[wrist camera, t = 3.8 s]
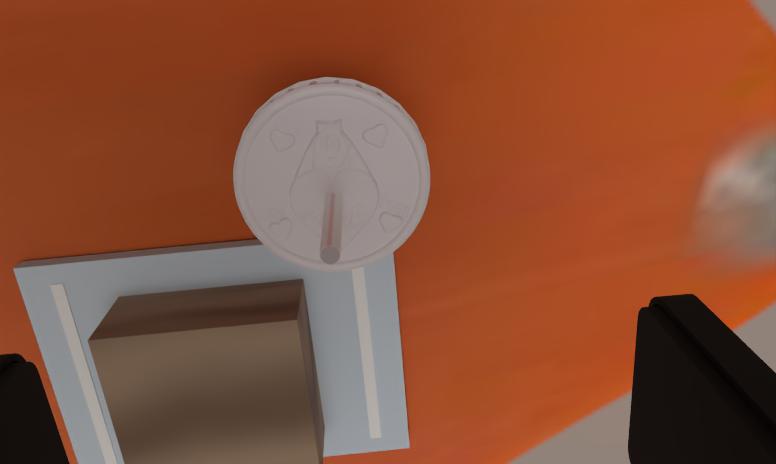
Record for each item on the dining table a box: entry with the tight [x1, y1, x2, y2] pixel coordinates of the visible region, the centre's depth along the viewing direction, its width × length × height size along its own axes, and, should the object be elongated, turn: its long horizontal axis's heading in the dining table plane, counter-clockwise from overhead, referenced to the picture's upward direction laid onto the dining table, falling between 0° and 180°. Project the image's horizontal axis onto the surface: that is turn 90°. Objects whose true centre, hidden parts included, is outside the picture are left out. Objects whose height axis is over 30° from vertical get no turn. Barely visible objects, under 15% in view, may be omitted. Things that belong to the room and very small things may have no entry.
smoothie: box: [233, 77, 430, 272], centre depth 23 cm, size 6×6×14 cm
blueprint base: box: [13, 239, 410, 464], centre depth 31 cm, size 13×18×5 cm
